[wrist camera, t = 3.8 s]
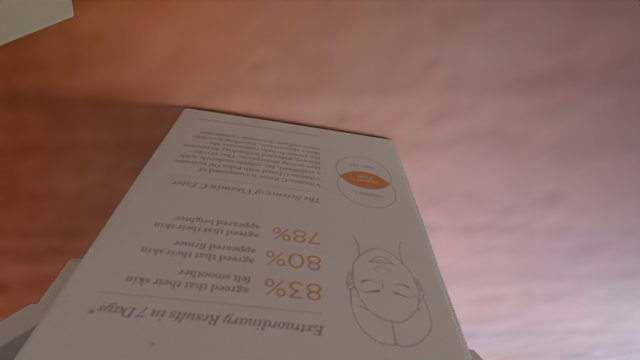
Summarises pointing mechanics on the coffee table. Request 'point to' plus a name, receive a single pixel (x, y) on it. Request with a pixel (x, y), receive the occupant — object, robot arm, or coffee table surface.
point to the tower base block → (30, 16)
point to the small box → (258, 255)
